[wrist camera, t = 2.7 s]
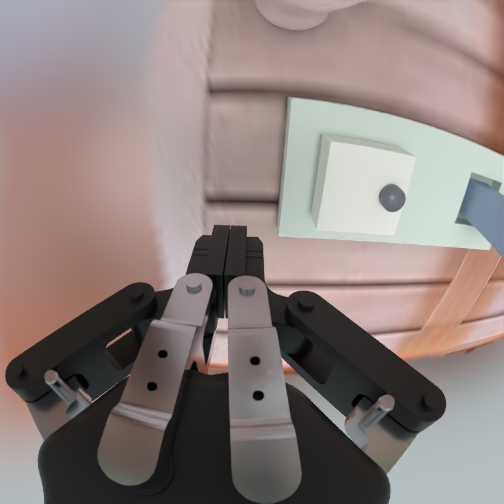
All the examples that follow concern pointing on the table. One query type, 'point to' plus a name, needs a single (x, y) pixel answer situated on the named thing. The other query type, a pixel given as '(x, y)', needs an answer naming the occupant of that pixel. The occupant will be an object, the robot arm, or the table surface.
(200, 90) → the table surface
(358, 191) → the lid
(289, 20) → the beer glass
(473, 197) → the peg
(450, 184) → the board
